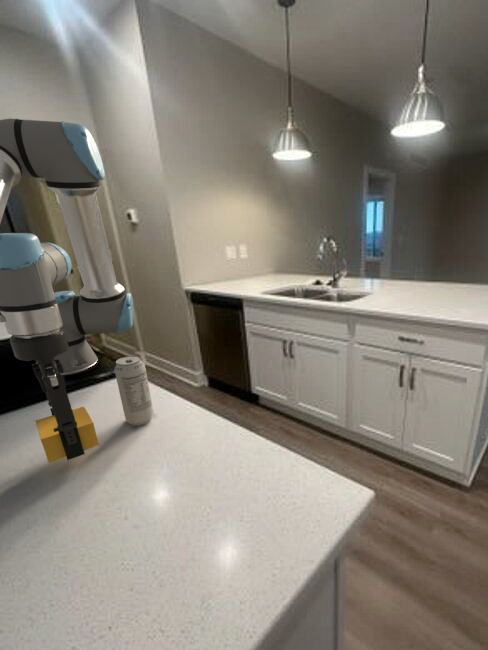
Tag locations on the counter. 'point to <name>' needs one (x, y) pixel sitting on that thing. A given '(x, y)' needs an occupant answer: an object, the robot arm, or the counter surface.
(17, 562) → the counter surface
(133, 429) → the counter surface
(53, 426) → the block
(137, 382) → the energy drink can
